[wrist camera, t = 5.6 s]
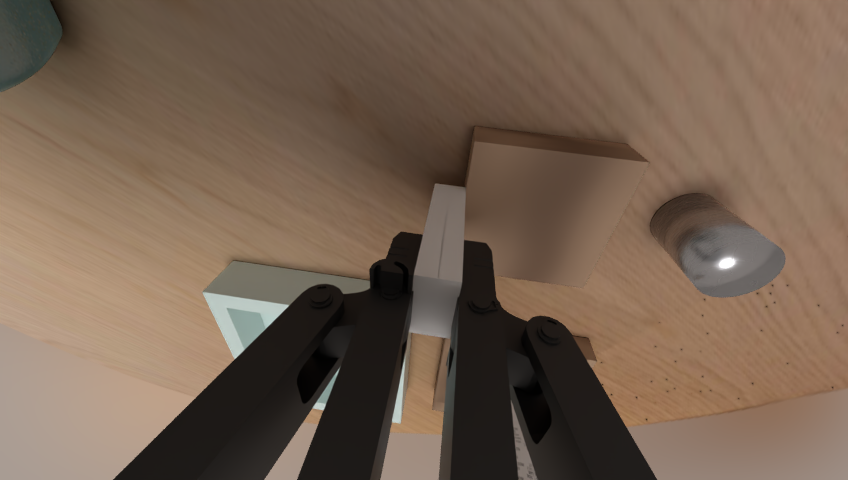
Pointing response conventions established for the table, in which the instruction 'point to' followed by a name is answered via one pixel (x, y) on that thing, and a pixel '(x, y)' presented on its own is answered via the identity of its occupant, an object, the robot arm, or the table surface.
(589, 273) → the square wooden coaster
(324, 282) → the tray
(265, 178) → the table surface
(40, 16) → the flower pot
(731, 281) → the bench dog
